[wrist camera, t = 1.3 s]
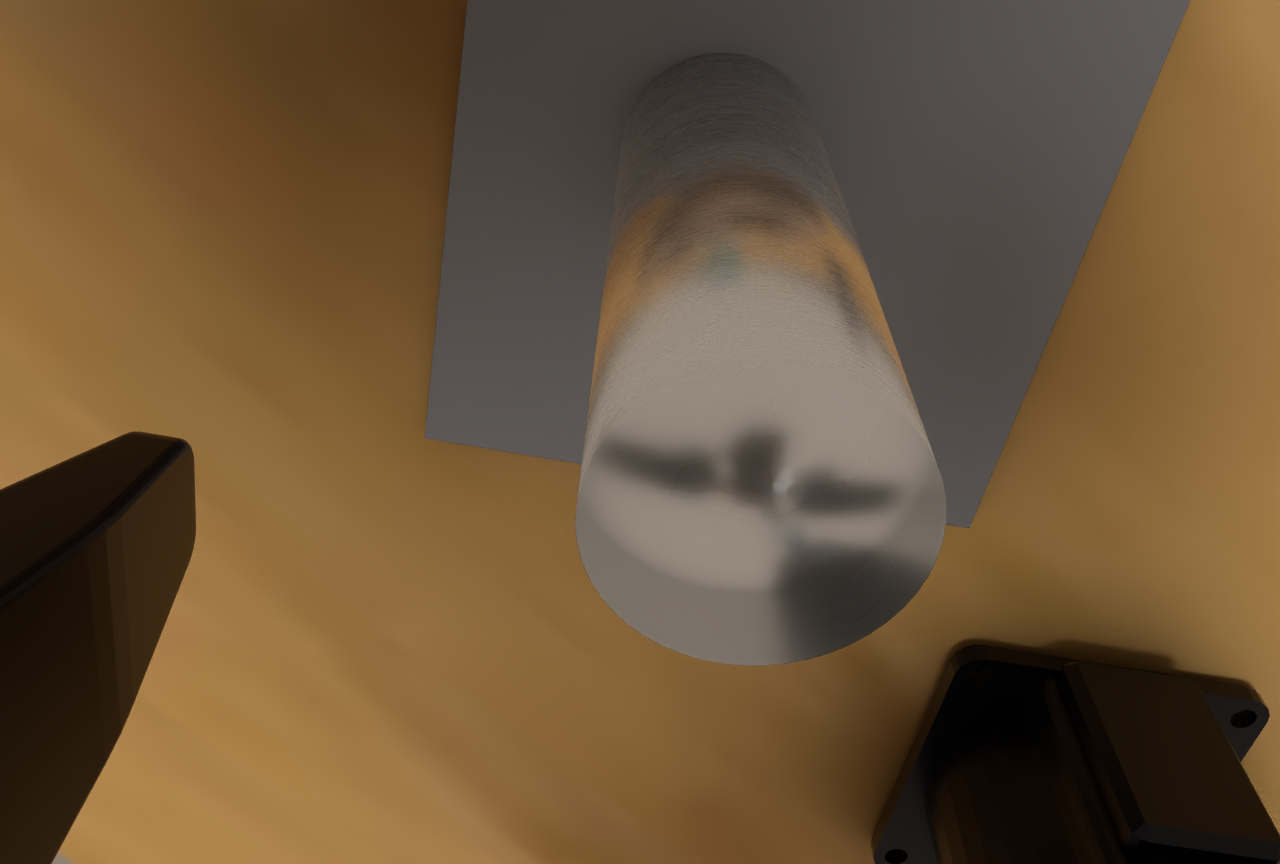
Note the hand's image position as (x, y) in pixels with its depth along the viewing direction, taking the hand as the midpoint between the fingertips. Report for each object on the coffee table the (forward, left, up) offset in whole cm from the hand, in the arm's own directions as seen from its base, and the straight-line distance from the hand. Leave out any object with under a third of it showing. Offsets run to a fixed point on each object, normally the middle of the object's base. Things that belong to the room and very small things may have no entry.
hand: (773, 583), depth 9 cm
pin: (0, 0, -10) cm, 10 cm away
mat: (-1, -1, -10) cm, 10 cm away
